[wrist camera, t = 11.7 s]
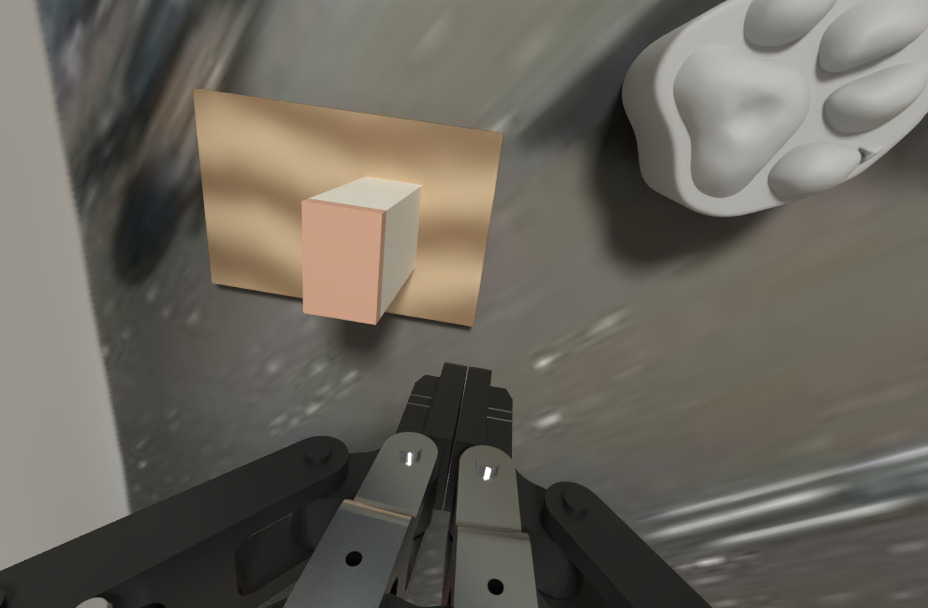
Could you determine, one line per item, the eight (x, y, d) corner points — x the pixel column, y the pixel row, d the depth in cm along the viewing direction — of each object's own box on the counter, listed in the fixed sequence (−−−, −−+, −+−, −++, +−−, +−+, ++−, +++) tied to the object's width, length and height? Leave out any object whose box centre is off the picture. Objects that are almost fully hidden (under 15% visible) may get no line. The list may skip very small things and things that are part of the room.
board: (204, 89, 31) (192, 88, 30) (503, 133, 30) (503, 133, 29) (221, 278, 36) (211, 283, 35) (474, 320, 35) (473, 326, 34)
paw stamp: (610, 56, 28) (648, 30, 20) (845, -49, 25) (1004, -130, 17) (650, 213, 31) (697, 245, 23) (862, 138, 28) (1002, 146, 20)
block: (365, 176, 31) (301, 201, 22) (422, 185, 31) (381, 213, 21) (362, 259, 33) (303, 312, 24) (414, 267, 33) (375, 324, 24)
